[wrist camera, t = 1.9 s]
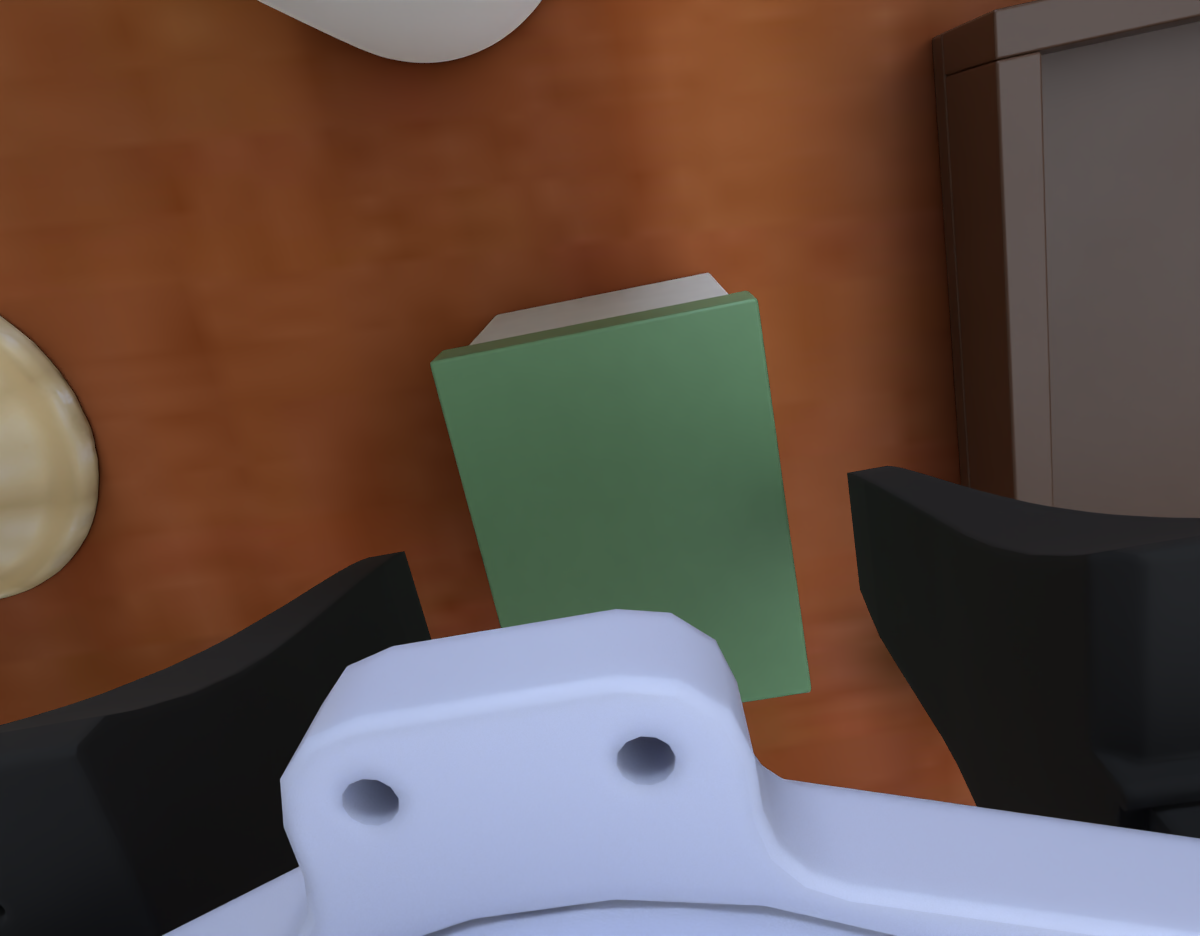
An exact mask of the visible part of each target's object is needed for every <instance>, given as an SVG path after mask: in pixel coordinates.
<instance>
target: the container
mask: <svg viewBox="0 0 1200 936" xmlns="http://www.w3.org/2000/svg"><path fill="white" fill-rule="evenodd" d="M430 366H431V370H432V374H433V377H434V381H435V385H436V389H437V392H438V396H439V400H440V403H441V407H442V411H443V414H444V418H445V422H446V426H447V429H448V433H449V437H450V440H451V444H452V448H453V452H454V455H455V459H456V463H457V466H458V470H459V474H460V478H461V481H462V485H463V489H464V492H465V496H466V500H467V504H468V507H469V511H470V515H471V518H472V522H473V526H474V529H475V533H476V537H477V541H478V544H479V548H480V552H481V555H482V559H483V563H484V567H485V570H486V574H487V578H488V581H489V585H490V589H491V593H492V596H493V600H494V604H495V607H496V611H497V615H498V619H499V622H500V626H501V628H505V627H511V626H517V625H523V624H529V623H535V622H541V621H547V620H553V619H559V618H565V617H571V616H577V615H583V614H589V613H595V612H601V611H607V610H613V609H623V610H638V611H653V612H668V613H672V614H674V615H675V616H677V617H679V618H680V619H682V620H684V621H685V622H687V623H689V624H690V625H692V626H693V627H695V628H697V629H698V630H700V631H702V632H703V633H705V634H706V635H708V636H710V637H711V638H713V639H715V640H716V642H717V644H718V646H719V648H720V650H721V652H722V654H723V656H724V658H725V660H726V661H727V663H728V665H729V667H730V669H731V671H732V673H733V675H734V677H735V679H736V681H737V684H738V688H739V693H740V697H741V701H742V702H748V701H755V700H761V699H768V698H774V697H781V696H787V695H794V694H800V693H807V692H810V691H811V683H810V676H809V668H808V661H807V654H806V647H805V640H804V632H803V625H802V618H801V611H800V603H799V596H798V589H797V582H796V574H795V567H794V560H793V553H792V545H791V538H790V531H789V524H788V516H787V509H786V502H785V495H784V487H783V480H782V473H781V466H780V458H779V451H778V444H777V437H776V429H775V422H774V415H773V408H772V400H771V393H770V386H769V379H768V371H767V364H766V357H765V350H764V342H763V335H762V328H761V321H760V313H759V306H758V301H757V299H756V298H755V297H754V296H753V295H752V294H751V293H750V292H748V291H743V292H737V293H732V294H728V293H727V292H726V291H725V290H724V289H723V288H722V287H721V286H720V284H719V283H718V282H717V281H716V280H715V279H714V278H713V277H712V276H711V275H710V273H704V274H699V275H694V276H689V277H684V278H679V279H674V280H669V281H664V282H659V283H654V284H649V285H644V286H639V287H634V288H629V289H624V290H619V291H614V292H609V293H604V294H599V295H594V296H589V297H584V298H579V299H574V300H569V301H564V302H559V303H554V304H549V305H544V306H539V307H534V308H529V309H524V310H519V311H514V312H509V313H504V314H499V315H496V316H495V317H494V318H493V319H492V320H491V322H490V323H489V324H488V325H487V326H486V327H485V328H484V329H483V330H482V332H481V333H480V334H479V335H478V336H477V337H476V338H475V339H474V340H473V342H472V343H471V344H470V345H469V346H463V347H458V348H453V349H448V350H443V351H442V352H441V353H440V354H439V355H438V356H437V357H436V358H435V359H434V360H433V361H432V362H431V363H430Z"/></svg>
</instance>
